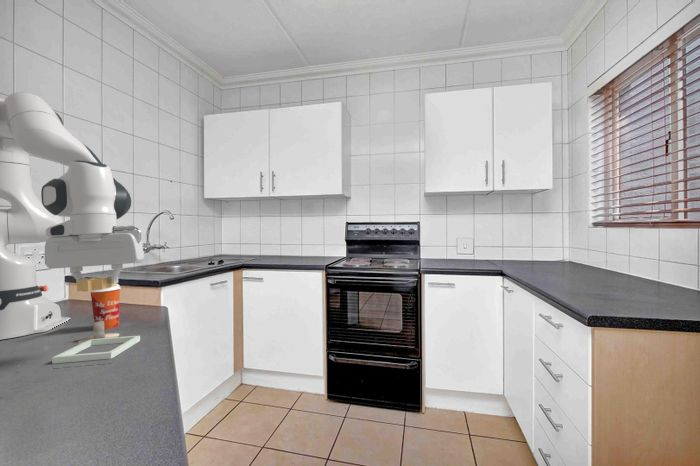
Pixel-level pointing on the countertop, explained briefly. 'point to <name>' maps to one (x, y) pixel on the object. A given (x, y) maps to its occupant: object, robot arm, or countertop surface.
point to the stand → (99, 332)
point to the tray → (70, 357)
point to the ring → (93, 284)
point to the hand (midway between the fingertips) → (97, 284)
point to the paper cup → (106, 306)
